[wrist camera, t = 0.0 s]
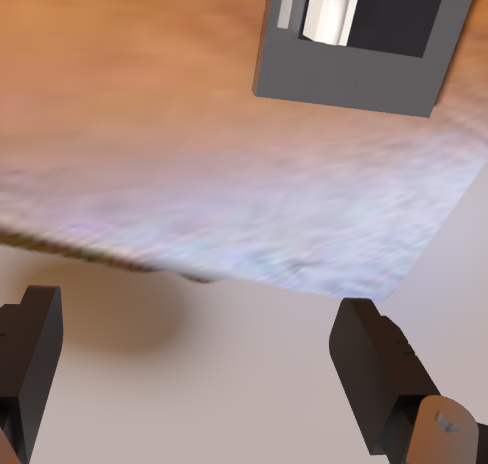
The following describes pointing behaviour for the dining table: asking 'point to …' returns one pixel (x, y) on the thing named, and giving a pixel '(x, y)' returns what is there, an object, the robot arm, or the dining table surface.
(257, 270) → the dining table surface
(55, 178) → the dining table surface
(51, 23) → the dining table surface
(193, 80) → the dining table surface
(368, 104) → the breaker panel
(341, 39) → the breaker
